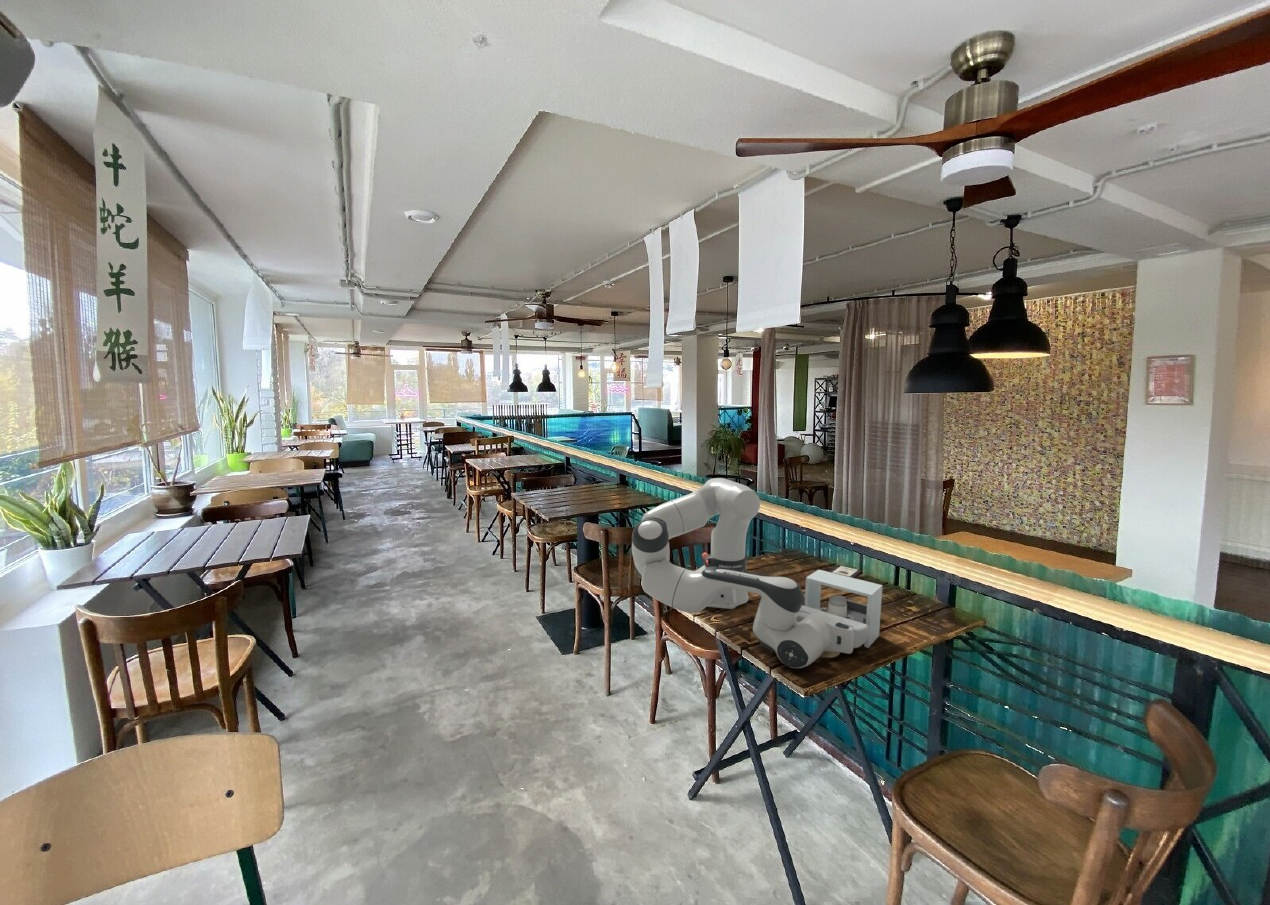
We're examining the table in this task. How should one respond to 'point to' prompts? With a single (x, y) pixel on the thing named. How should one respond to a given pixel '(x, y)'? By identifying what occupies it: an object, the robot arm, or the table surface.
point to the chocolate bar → (845, 571)
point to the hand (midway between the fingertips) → (838, 614)
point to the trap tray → (857, 611)
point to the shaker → (837, 605)
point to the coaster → (829, 654)
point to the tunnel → (849, 585)
